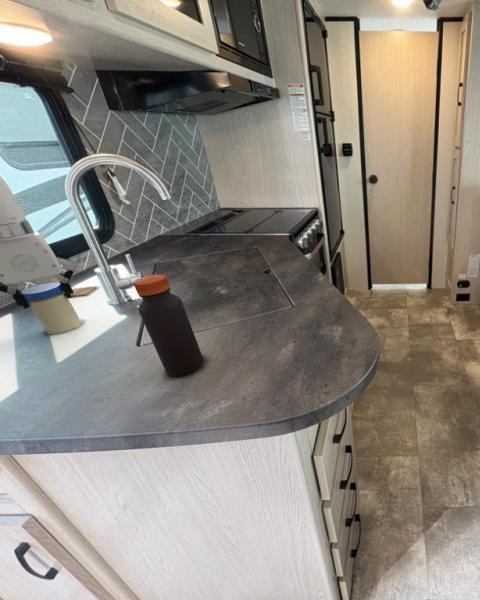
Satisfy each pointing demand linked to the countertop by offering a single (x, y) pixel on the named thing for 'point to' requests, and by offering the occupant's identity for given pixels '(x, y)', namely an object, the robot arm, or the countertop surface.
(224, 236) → the countertop surface
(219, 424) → the countertop surface
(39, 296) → the jam lid
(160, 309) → the bottle
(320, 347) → the countertop surface
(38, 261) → the robot arm
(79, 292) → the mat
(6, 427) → the countertop surface
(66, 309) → the jam jar
